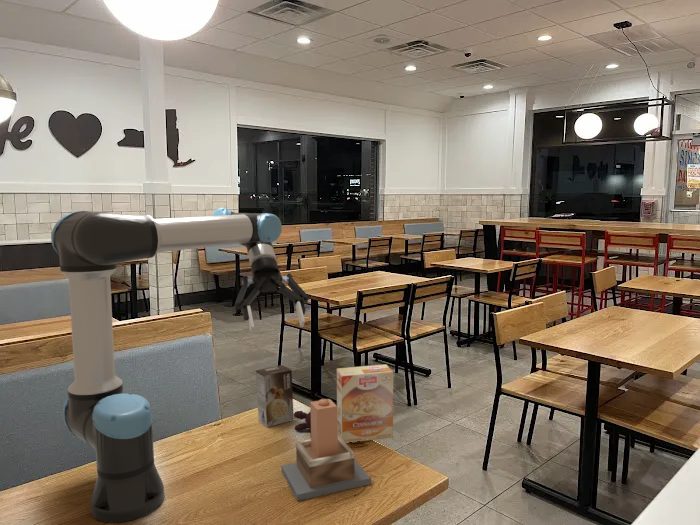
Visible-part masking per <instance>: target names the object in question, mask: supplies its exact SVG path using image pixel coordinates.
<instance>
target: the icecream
mask: <svg viewBox="0 0 700 525" xmlns="http://www.w3.org/2000/svg"><path fill="white" fill-rule="evenodd" d="M293 417H294V418H295V419H297V420H298V419H299V420H305V421H304V422H303V423H302V422H301V423H297V424H296V425H295V426H294V430H295V431H296V432H303V431H306V430H307V429H308V430H309V431H311V410H310V411H309V412H308V413H307V412H304V411H303V410H296V411H294V412H293Z"/></svg>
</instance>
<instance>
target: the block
mask: <svg viewBox="0 0 700 525" xmlns="http://www.w3.org/2000/svg"><path fill="white" fill-rule="evenodd" d="M309 403H310V411H311V430H310V439H311V450H312V451H313V452H314V454H315V455H316V457H317V458H322V457H327V456H332V455H337V454H338V431H337V404H335V402H333V400H332V399H330V398H321V399H319V400H314V401H310V402H309Z"/></svg>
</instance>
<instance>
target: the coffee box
mask: <svg viewBox="0 0 700 525" xmlns="http://www.w3.org/2000/svg"><path fill="white" fill-rule="evenodd" d="M255 372H256V392H257V393H256V394H257V414H258V415H257V416H258V417H257V419H258V421H259V423H261V424H262V425H263V426H265V427H266V428H271V427H274V426H276V425H277V424H278V425H280V424H284V422H285V423H288V422H287V421H289V422H291V421H290V420H292V421H294V420H295V419H294V418H295V417H294V400H293V399H294V398H293V396H294V394H293V374H292V372H293V370H292V369H291V368H289V367H287V366H285V365H283V364H280V365H275V366H272V367H271V366H270V367H266V368H262V369H257V370H255ZM293 419H294V420H293Z"/></svg>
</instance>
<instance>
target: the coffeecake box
mask: <svg viewBox="0 0 700 525" xmlns="http://www.w3.org/2000/svg"><path fill="white" fill-rule="evenodd" d="M336 406H337V431H338V435H339V436H340V437H341V438H342V439H343V441H344V442H345V443H346V444H350V443H349V442H352V443H358V442H357V441H360V442H366V441H374V440H375V441H376V440H383V439H393V438H394V371H393V369H391V368H390V367H389V366H388V364H376V365H363V366H362V365H361V366H352V367H351V366H350V367H341V368H339V367H337V368H336ZM367 439H368V440H367ZM370 439H371V440H370Z"/></svg>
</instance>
